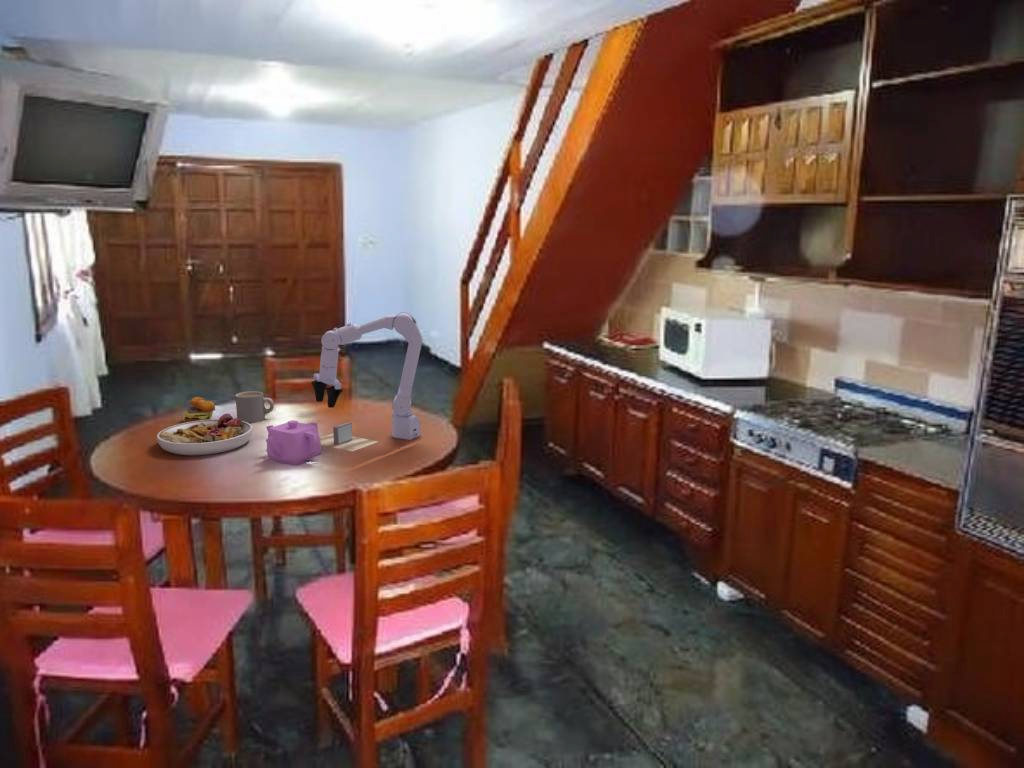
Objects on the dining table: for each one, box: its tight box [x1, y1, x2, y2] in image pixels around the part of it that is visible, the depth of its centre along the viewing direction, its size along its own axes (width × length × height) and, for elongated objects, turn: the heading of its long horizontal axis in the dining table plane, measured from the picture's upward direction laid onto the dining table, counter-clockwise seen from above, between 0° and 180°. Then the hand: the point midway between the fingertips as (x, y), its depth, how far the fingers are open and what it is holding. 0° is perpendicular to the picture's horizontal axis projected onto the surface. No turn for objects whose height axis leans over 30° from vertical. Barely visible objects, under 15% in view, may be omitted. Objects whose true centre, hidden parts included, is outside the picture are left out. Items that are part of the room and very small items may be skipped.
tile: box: [332, 421, 353, 445], centre depth 253 cm, size 2×7×6 cm, turn 149°
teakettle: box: [265, 420, 322, 466], centre depth 239 cm, size 17×17×12 cm
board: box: [320, 433, 378, 453], centre depth 254 cm, size 20×13×1 cm, turn 59°
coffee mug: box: [235, 390, 275, 424], centre depth 284 cm, size 13×10×10 cm
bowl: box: [156, 413, 253, 456], centre depth 253 cm, size 30×30×8 cm
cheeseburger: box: [182, 396, 216, 423], centre depth 282 cm, size 10×11×10 cm
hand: (325, 404), depth 257 cm, fingers open, 7 cm apart
